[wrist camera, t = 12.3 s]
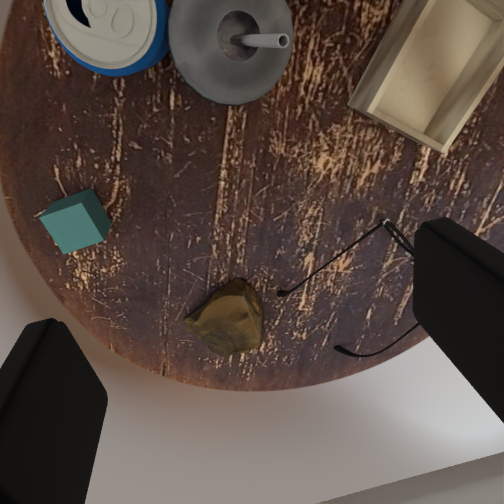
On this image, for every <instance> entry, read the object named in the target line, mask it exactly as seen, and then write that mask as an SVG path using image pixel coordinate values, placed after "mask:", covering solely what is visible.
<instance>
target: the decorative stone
mask: <svg viewBox="0 0 504 504" xmlns="http://www.w3.org/2000/svg"><path fill="white" fill-rule="evenodd" d="M184 321H185V322H186V324H187V327H188V329H189V331H190V332H191V333H193V334H194V335H196V337H198V338H199V339H201V340H202V341H203V342H205V343H206V344H207V345H208V347H209V348H210V349H211V350H212V351H213V352H215V353H217V354H218V355H220V356H229V355H232V354H237V353H246V352H249V351H251V350H252V349H254V348H256V347H257V346H258V345H259V344H260V343H262V341H263V329H264V326H263V323H264V313H263V308H262V306H261V303H260V300H259V297H258V295H257V293H256V292H255V290H254V289H253V288H252V287H251V286H250V285H247V284H246V282H244V281H243V280H241V279H236V280H233V281H231V282H230V283H227V284H226V285H225V286H223V287H222V288H221V289H219V290H218V291H217V292H216V293H214V295H213V296H212V298H211V299H210V300H209V301H208V302H207V303H205V304H204V305H203V306H202V307H201V308H199V309H198V310H196V311H195V312H194V313H192V314H191V315H189V316H188V317H186V318H185V319H184Z"/></svg>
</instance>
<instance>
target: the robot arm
mask: <svg viewBox="0 0 504 504" xmlns="http://www.w3.org/2000/svg"><path fill="white" fill-rule="evenodd" d="M413 313H414V316H415V318H416V320H417V321H418V323H419V324H420V325H421V326H422V327H423V328H424V330H425V331H426V332H427V333H428V334H429V336H430V337H431V338H432V339H433V340H434V341H435V343H436V344H437V345H438V346H439V347H440V349H441V350H442V351H443V352H444V353H445V354H446V356H447V357H448V358H449V359H450V360H451V362H452V363H453V364H454V365H455V366H456V367H457V369H458V370H459V371H460V372H461V373H462V375H463V376H464V377H465V378H466V379H467V380H468V382H469V383H470V384H471V385H472V386H473V388H474V389H475V390H476V391H477V392H478V393H479V395H480V396H481V397H482V398H483V399H484V400H485V402H486V403H487V404H488V405H489V406H490V408H491V409H492V410H493V411H494V412H495V414H496V415H497V416H498V417H499V418H500V419H501V421H502V422H503V423H504V253H502V252H501V251H499V250H498V249H496V248H495V247H493V246H492V245H490V244H488V243H487V242H485V241H484V240H482V239H481V238H479V237H478V236H476V235H474V234H473V233H471V232H470V231H468V230H467V229H465V228H464V227H462V226H460V225H459V224H457V223H456V222H454V221H453V220H451V219H450V218H447V217H442V218H438V219H434V220H430V221H426V222H423V223H422V224H421V226H420V229H417V230H416V232H415V240H414V277H413ZM107 403H108V397H107V392H106V390H105V388H104V386H103V385H102V383H101V381H100V380H99V378H98V376H97V375H96V373H95V371H94V370H93V368H92V367H91V365H90V363H89V362H88V360H87V359H86V357H85V355H84V354H83V352H82V350H81V349H80V347H79V346H78V344H77V342H76V340H75V339H74V337H73V336H72V334H71V332H70V331H69V329H68V327H67V326H66V324H64V323H63V322H61V321H60V322H58V321H57V320H56V319H54V318H49V319H46V320H41V321H37V322H33V323H30V324H28V325H26V327H25V328H24V330H23V331H22V333H21V335H20V336H19V338H18V340H17V342H16V343H15V345H14V347H13V348H12V350H11V351H10V353H9V355H8V357H7V358H6V360H5V362H4V363H3V365H2V367H1V368H0V504H85V499H86V495H87V491H88V486H89V482H90V478H91V473H92V469H93V464H94V460H95V456H96V452H97V447H98V443H99V439H100V434H101V430H102V425H103V421H104V417H105V413H106V408H107ZM317 504H504V452H502V453H498V454H495V455H491V456H487V457H484V458H480V459H477V460H473V461H469V462H465V463H462V464H458V465H454V466H451V467H448V468H444V469H440V470H436V471H433V472H429V473H425V474H422V475H418V476H414V477H411V478H408V479H404V480H400V481H396V482H392V483H389V484H385V485H382V486H378V487H375V488H371V489H367V490H364V491H360V492H356V493H353V494H349V495H346V496H342V497H338V498H335V499H331V500H328V501H324V502H321V503H317Z"/></svg>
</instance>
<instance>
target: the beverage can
mask: <svg viewBox="0 0 504 504" xmlns="http://www.w3.org/2000/svg"><path fill="white" fill-rule="evenodd" d="M43 3H44V9H45V13H46V17H47V20H48V23H49V25H50V28H51V30H52V32H53V34H54V36H55V37H56V39H57V40H58V42H59V43H60V45H61V46H62V47H63V48H64V50H65V51H66V52H67V53H68V54H69V55H70V56H71V57H72V58H73V59H75V60H76V61H77V62H78V63H80V64H81V65H83V66H84V67H86V68H88V69H90V70H92V71H94V72H97V73H99V74H103V75H107V76H125V75H130V74H133V73H136V72H138V71H141V70H144V69H147V68H149V67H152V66H154V65H156V64H157V63H158V62H160V61H161V60H162V59H163V58H164V56H165V55H166V54H167V52H168V50H169V47H168V36H167V19H168V16H169V12H170V9H169V7H168V5H167V2H166V0H43Z"/></svg>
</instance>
